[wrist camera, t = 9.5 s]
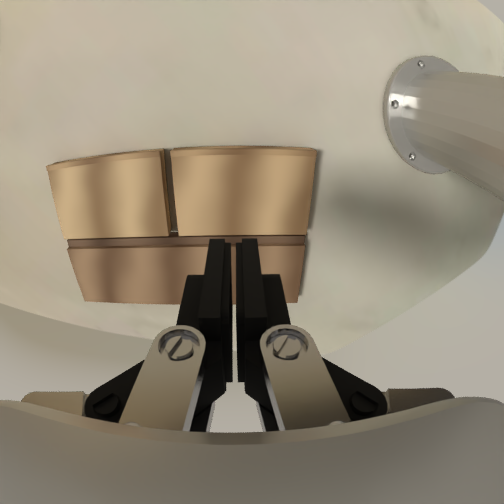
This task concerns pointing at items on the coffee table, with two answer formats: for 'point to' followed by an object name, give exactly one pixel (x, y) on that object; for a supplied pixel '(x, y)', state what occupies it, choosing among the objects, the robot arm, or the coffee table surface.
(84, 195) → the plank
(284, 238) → the floor plank
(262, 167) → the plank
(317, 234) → the coffee table surface
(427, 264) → the coffee table surface
